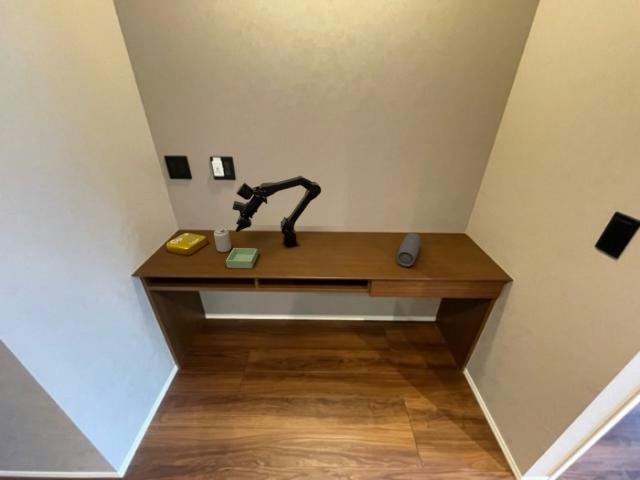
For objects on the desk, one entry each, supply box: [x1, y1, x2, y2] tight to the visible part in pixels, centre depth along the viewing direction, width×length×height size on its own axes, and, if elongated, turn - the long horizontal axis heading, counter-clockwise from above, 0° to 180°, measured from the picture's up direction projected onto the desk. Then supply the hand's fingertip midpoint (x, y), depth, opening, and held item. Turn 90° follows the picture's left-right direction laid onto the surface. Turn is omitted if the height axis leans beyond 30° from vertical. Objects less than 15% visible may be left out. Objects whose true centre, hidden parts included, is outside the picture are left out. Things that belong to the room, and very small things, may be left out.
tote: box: [225, 247, 259, 269], centre depth 131 cm, size 12×12×4 cm
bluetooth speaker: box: [396, 232, 422, 267], centre depth 135 cm, size 23×9×10 cm, turn 154°
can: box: [213, 227, 232, 253], centre depth 139 cm, size 8×8×12 cm
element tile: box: [166, 232, 208, 256], centre depth 143 cm, size 15×15×5 cm
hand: (236, 227), depth 137 cm, fingers open, 9 cm apart
